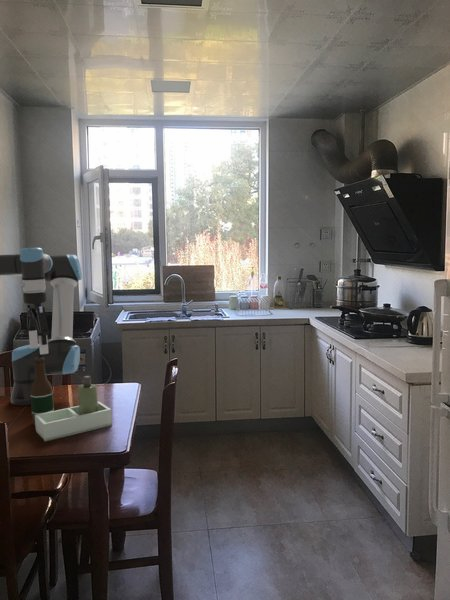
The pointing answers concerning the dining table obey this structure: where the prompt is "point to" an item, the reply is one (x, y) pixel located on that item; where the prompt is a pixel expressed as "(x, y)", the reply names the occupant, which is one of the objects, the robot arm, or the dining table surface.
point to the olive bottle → (87, 397)
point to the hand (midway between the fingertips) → (39, 351)
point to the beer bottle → (41, 391)
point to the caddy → (71, 422)
